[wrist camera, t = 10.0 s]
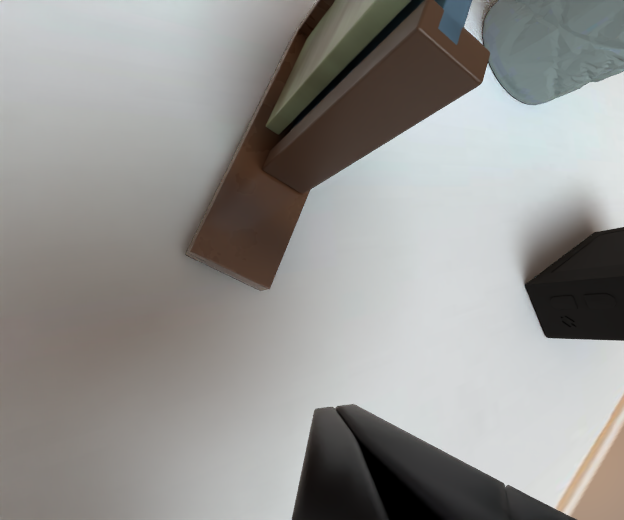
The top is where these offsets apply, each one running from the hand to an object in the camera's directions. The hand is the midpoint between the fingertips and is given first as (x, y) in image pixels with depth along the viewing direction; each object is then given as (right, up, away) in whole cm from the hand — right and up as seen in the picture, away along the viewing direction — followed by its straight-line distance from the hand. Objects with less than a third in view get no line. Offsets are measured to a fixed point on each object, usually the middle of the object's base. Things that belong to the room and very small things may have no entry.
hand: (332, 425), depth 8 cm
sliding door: (-1, +10, +13) cm, 16 cm away
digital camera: (+20, +1, +24) cm, 31 cm away
